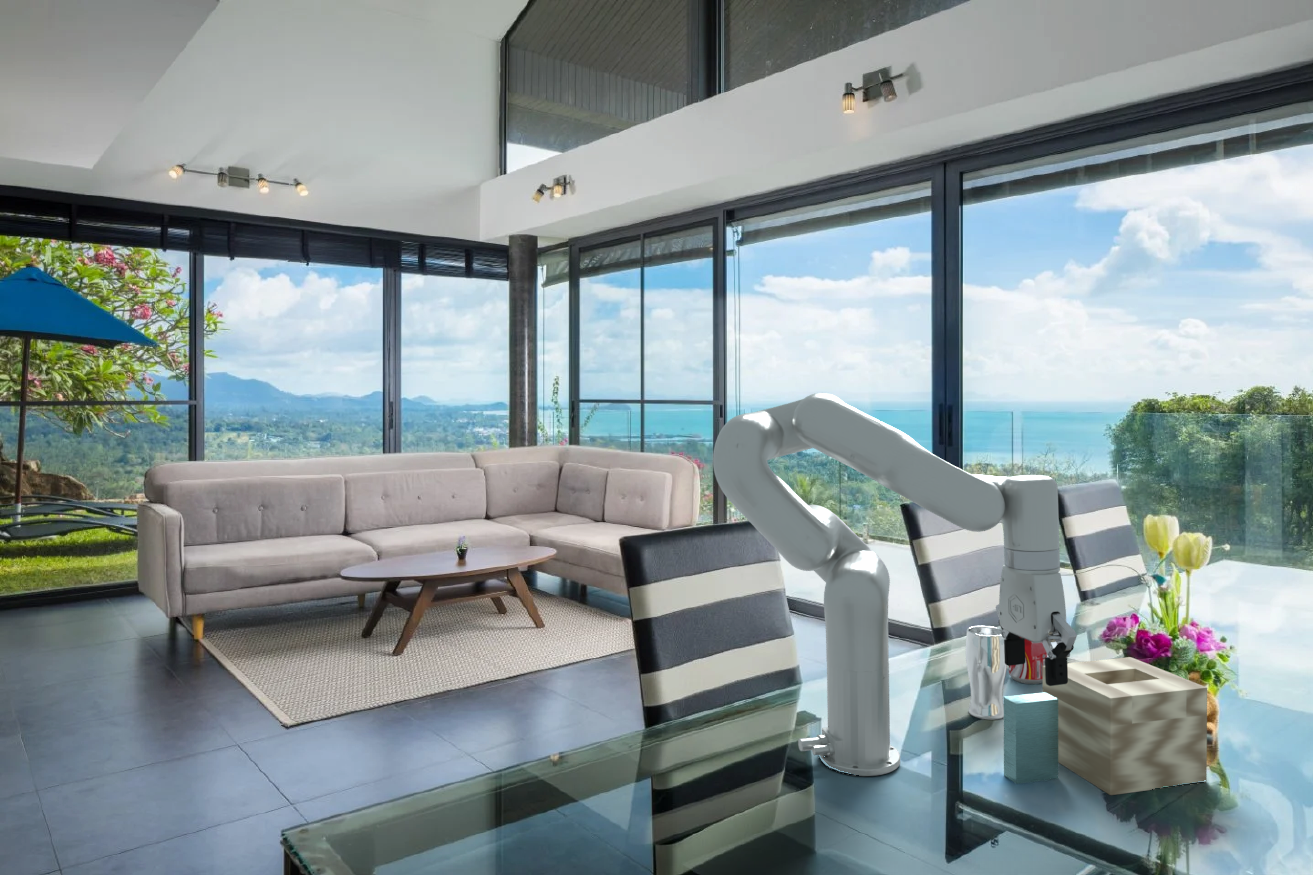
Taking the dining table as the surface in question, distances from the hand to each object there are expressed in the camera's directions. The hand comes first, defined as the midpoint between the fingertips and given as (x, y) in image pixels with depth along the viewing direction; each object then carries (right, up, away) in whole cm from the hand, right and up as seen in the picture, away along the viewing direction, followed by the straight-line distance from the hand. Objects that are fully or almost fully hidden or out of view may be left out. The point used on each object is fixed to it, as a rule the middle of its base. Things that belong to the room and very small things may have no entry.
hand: (1035, 673), depth 128 cm
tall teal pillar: (0, -16, +1) cm, 16 cm away
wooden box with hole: (+15, -15, +4) cm, 21 cm away
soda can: (+18, -13, +43) cm, 49 cm away
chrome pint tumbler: (+3, -14, +26) cm, 30 cm away
